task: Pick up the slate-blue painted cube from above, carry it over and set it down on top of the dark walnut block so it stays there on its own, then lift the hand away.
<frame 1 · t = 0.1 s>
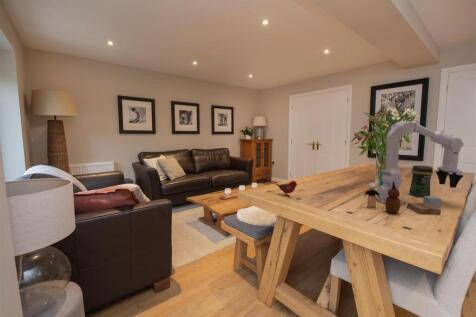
hand: (447, 185, 116), 10 cm above the table, tool pointing down, fingers open, 7 cm apart
wooden figurine: (391, 212, 105), on the table
decorative bird figurine: (284, 195, 133), on the table
walnut block: (422, 211, 106), on the table
beverage can: (384, 194, 136), on the table
slate cube: (431, 206, 113), on the table
grandmother figurine: (370, 207, 112), on the table
coffee jar: (419, 195, 133), on the table
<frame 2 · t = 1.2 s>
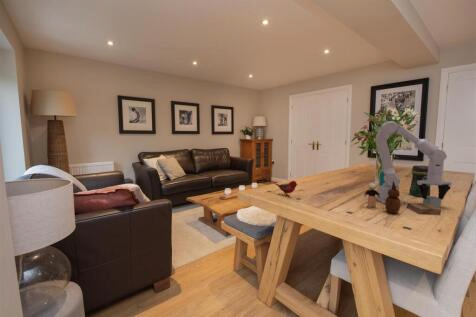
hand: (432, 198, 113), 4 cm above the table, tool pointing down, fingers open, 7 cm apart
nothing on the table moved.
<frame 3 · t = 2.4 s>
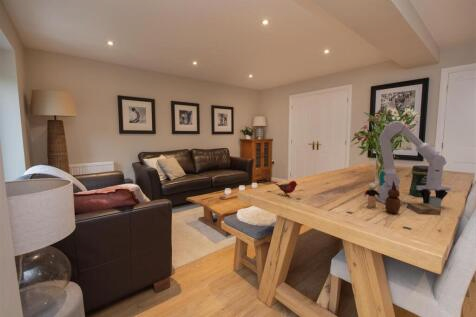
hand: (431, 203, 113), 1 cm above the table, tool pointing down, fingers closed on slate cube, 5 cm apart
slate cube: (431, 206, 113), on the table, touching gripper
everything else where it was.
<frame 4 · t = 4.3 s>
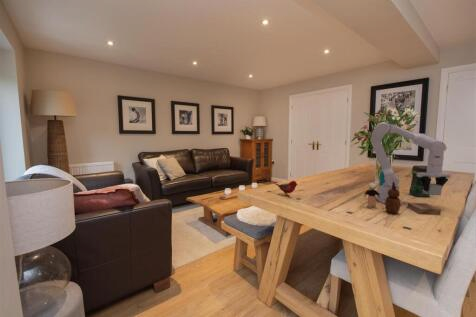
hand: (431, 191, 111), 8 cm above the table, tool pointing down, fingers closed on slate cube, 5 cm apart
slate cube: (431, 193, 112), point 7 cm above the table, touching gripper
everything else where it was.
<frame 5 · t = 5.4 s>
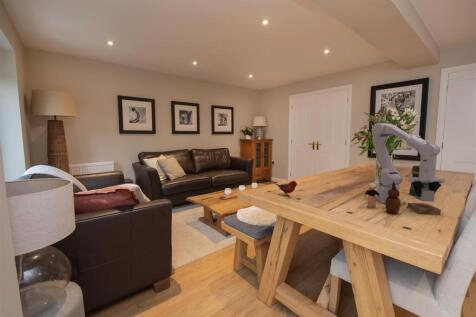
hand: (424, 197, 106), 7 cm above the table, tool pointing down, fingers closed on slate cube, 5 cm apart
slate cube: (424, 199, 106), point 6 cm above the table, touching gripper
everything else where it was.
when the fingers open (6 cm above the table, at t = 6.1 s): slate cube drops 2 cm, resting on walnut block.
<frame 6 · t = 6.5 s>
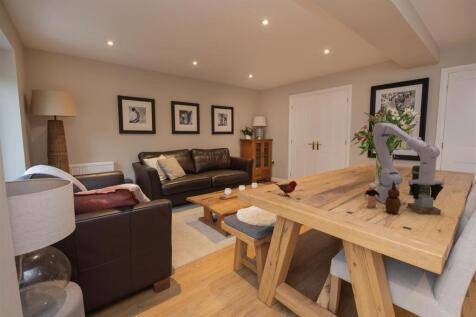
hand: (424, 199, 106), 6 cm above the table, tool pointing down, fingers open, 7 cm apart
walnut block: (422, 212, 107), on the table, touching slate cube
slate cube: (423, 206, 106), point 2 cm above the table, touching walnut block
everything else where it was.
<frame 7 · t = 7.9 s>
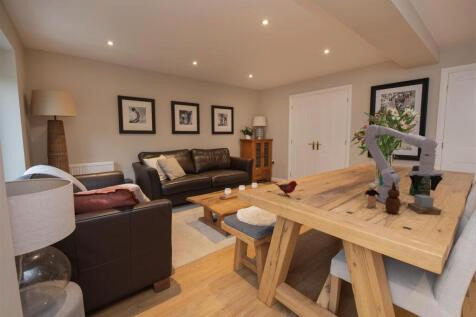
hand: (424, 190, 110), 9 cm above the table, tool pointing down, fingers open, 7 cm apart
walnut block: (422, 212, 106), on the table
slate cube: (423, 206, 106), point 2 cm above the table
everything else where it was.
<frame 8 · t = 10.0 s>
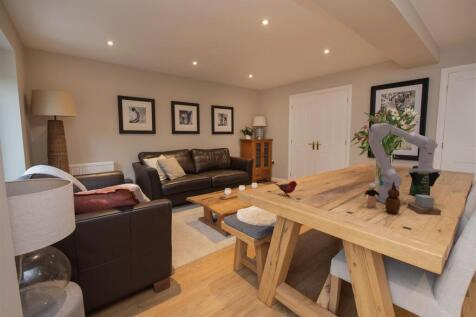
hand: (422, 186, 118), 9 cm above the table, tool pointing down, fingers open, 7 cm apart
walnut block: (423, 212, 106), on the table, touching slate cube
slate cube: (423, 206, 106), point 2 cm above the table, touching walnut block
everything else where it was.
at the end: slate cube 0.0 cm off-centre on the walnut block, point 3.0 cm above the walnut block's base; slate cube tilted 0°; the gripper is holding nothing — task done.
